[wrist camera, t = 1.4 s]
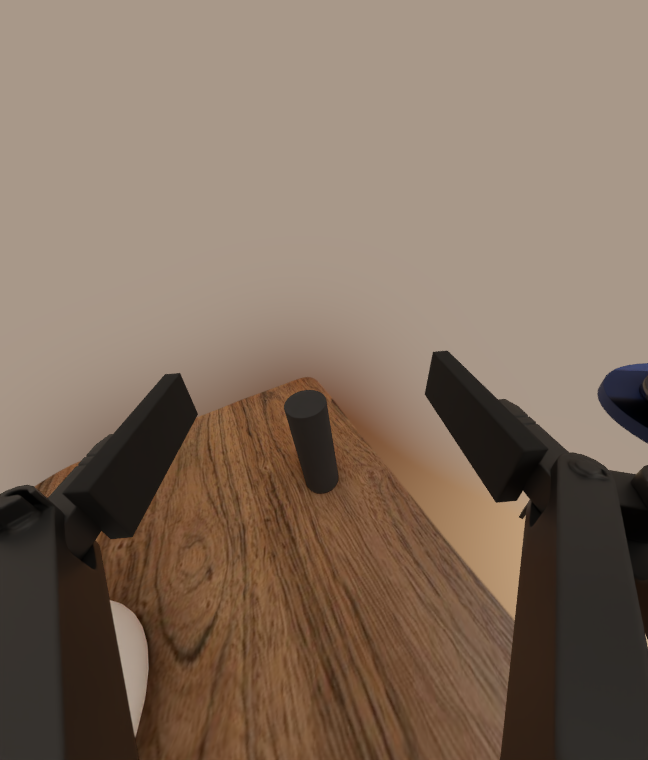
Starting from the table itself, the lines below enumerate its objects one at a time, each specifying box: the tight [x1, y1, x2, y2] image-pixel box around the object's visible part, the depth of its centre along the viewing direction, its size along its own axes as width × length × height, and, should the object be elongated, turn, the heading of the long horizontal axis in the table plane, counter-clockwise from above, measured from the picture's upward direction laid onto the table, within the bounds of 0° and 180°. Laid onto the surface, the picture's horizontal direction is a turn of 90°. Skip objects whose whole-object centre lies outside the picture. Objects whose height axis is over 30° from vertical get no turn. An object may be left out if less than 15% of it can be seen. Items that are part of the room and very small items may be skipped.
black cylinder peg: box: [284, 390, 338, 493], centre depth 27 cm, size 4×4×12 cm
